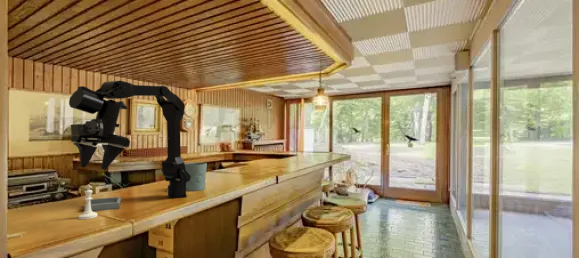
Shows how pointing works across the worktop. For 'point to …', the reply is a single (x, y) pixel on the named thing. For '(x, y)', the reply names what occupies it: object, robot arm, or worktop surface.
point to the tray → (105, 203)
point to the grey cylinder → (196, 176)
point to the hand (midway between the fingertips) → (93, 168)
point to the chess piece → (88, 206)
